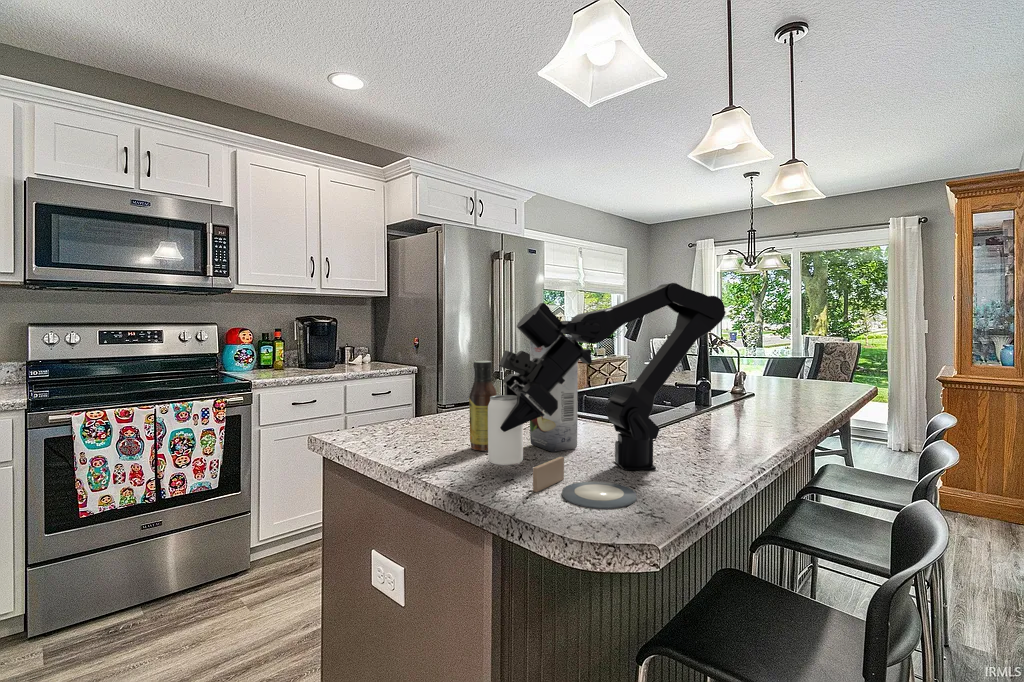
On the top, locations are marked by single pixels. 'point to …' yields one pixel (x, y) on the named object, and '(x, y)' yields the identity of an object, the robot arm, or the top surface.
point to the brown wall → (548, 474)
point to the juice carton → (557, 412)
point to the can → (503, 433)
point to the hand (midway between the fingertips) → (497, 426)
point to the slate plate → (599, 494)
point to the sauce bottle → (480, 405)
